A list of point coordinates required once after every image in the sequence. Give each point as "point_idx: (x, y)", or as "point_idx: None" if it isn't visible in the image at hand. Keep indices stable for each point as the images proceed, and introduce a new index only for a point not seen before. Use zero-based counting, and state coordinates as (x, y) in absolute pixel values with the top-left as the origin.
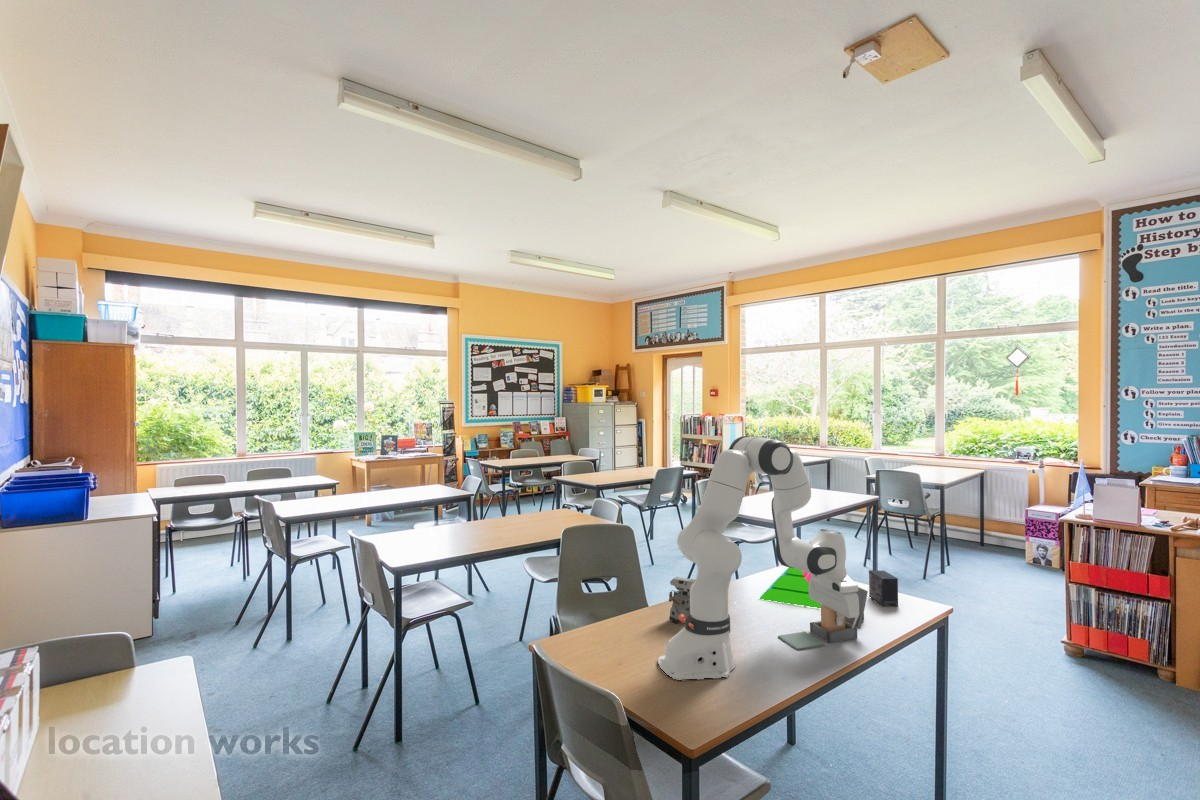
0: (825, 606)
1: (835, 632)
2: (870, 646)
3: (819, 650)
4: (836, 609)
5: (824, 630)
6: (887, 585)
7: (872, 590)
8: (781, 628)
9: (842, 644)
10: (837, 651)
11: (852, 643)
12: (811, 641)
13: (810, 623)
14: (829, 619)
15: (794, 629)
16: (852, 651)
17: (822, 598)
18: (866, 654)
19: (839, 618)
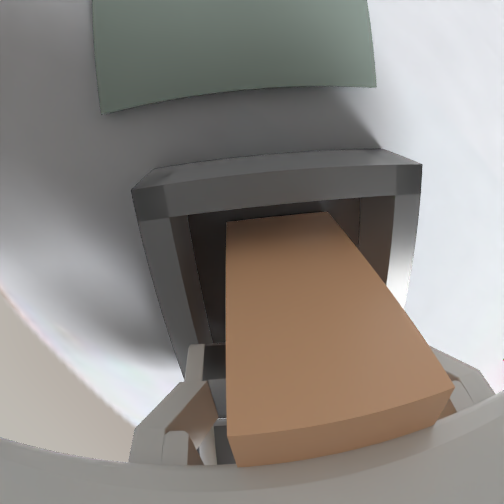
0: (392, 433)
1: (151, 269)
2: (97, 370)
3: (54, 45)
4: (119, 495)
5: (204, 189)
6: None
7: None
8: (468, 10)
9: (118, 254)
10: (26, 164)
11: (131, 318)
12: (170, 27)
13: (412, 163)
14: (226, 322)
15: (444, 70)
16: (28, 255)
17: (493, 488)
18: (9, 301)
19: (163, 409)
